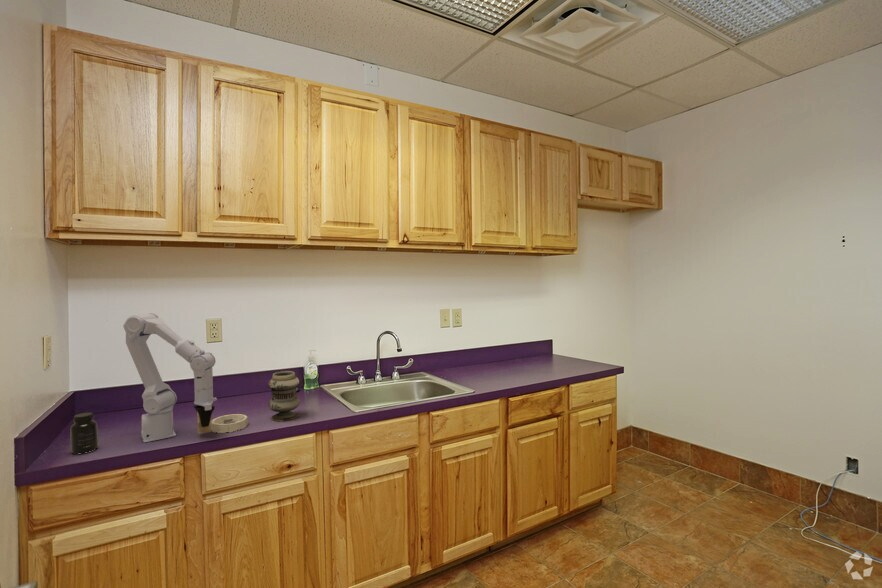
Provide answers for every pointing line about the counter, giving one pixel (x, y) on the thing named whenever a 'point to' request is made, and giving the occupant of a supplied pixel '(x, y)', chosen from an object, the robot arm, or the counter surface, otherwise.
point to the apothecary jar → (284, 395)
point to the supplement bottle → (84, 433)
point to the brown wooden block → (203, 429)
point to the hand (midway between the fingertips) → (204, 425)
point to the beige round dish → (229, 423)
